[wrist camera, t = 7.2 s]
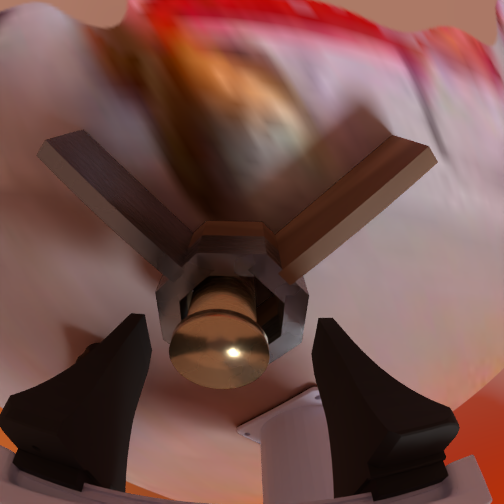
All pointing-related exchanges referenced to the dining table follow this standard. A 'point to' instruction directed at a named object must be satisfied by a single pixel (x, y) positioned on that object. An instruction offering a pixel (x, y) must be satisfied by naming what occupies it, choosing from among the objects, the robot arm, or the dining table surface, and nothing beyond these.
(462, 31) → the dining table surface
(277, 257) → the grey ring with handle
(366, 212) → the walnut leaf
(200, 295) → the bronze pin
